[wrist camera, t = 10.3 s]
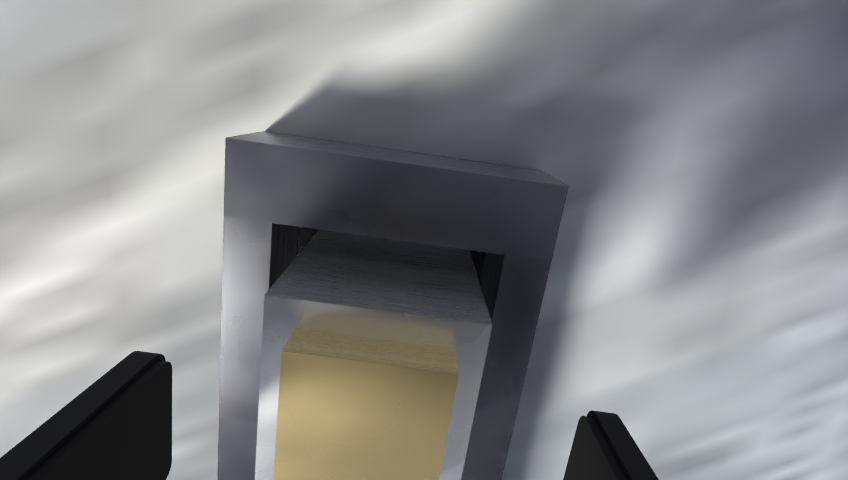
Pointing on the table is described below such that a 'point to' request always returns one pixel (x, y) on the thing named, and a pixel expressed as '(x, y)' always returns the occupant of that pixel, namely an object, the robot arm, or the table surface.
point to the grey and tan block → (370, 362)
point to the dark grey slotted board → (391, 219)
